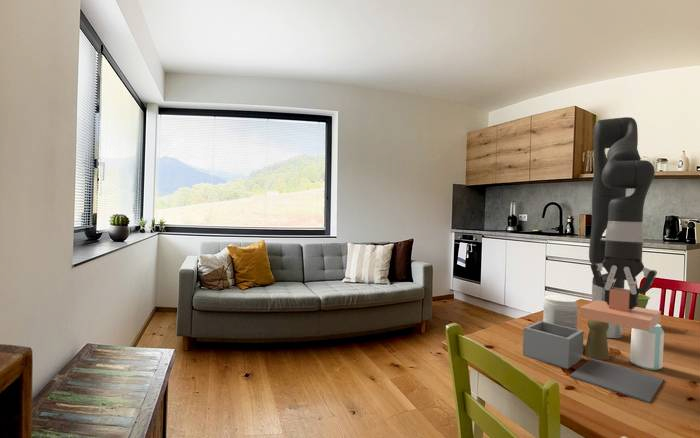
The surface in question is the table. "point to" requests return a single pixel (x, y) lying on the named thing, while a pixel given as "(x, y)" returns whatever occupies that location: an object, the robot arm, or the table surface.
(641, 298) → the plant pot
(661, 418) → the table surface
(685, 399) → the table surface
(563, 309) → the supplement tub
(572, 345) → the storage box
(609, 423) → the table surface
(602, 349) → the pepper mill
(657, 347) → the can
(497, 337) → the table surface
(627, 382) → the mat
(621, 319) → the lid
